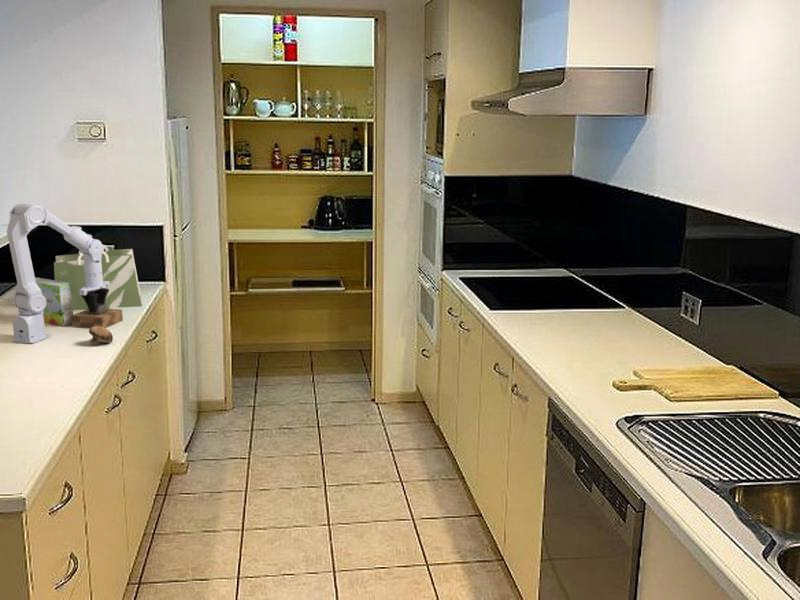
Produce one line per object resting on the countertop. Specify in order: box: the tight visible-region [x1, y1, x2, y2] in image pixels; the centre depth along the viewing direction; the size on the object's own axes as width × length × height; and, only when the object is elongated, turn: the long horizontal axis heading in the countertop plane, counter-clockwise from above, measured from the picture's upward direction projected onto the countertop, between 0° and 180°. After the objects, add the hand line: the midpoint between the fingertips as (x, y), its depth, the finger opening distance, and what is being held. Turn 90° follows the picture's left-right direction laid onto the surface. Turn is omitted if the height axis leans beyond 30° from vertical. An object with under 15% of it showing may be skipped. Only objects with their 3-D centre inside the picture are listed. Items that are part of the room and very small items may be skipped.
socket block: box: [71, 308, 124, 329], centre depth 289 cm, size 12×12×4 cm
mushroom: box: [88, 326, 114, 346], centre depth 266 cm, size 8×8×6 cm
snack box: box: [35, 276, 74, 328], centre depth 291 cm, size 21×6×15 cm, turn 62°
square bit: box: [89, 303, 106, 315], centre depth 289 cm, size 4×4×6 cm
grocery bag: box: [53, 244, 143, 311], centre depth 314 cm, size 32×14×23 cm, turn 106°
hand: (96, 310), depth 289 cm, fingers closed on square bit, 4 cm apart
